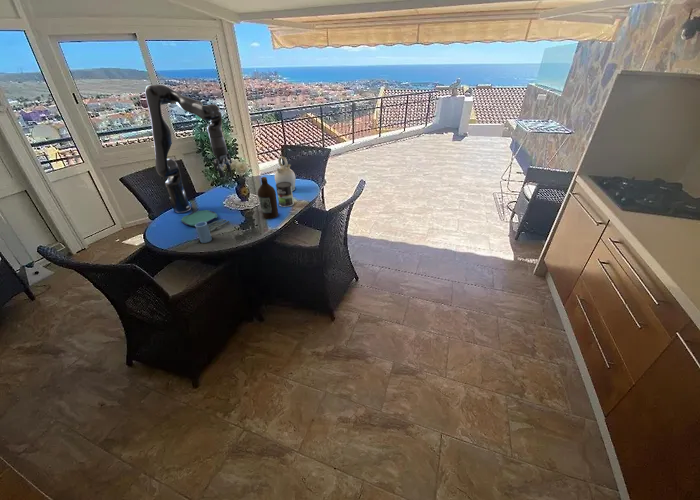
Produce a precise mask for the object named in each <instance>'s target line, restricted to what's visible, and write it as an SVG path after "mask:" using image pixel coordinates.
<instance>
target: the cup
mask: <svg viewBox="0 0 700 500" xmlns="http://www.w3.org/2000/svg"><path fill="white" fill-rule="evenodd" d="M208 225H209V224H208V223H207V222H199V223H196V224H195V226H194V228H195V230H196V233H197V235H198V239H199V241H200V243H202V244H207V243H210V242H211V241H213V237H212V234H211V231H209V230H210V229H209V228H208Z"/></svg>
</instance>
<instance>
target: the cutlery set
mask: <svg viewBox="0 0 700 500" xmlns="http://www.w3.org/2000/svg"><path fill="white" fill-rule="evenodd" d="M217 218H218V214H217V213H216V212H215V211H213V210H209V209H205V210H203V209H202V210H197V211H194V212H191V213H189V214H187V215H184V216H182V218H181V219H180V221H181V223H183V225H186V226H190V227H195V224H196V223H199V222H207V225H208V228H209V231H210V232H212V231H215V230H217V229H218V228H220V227H222V226H225V225H227V224H230V221H229V220H227V219H224V218H222V219H219V220H217V221H213V220H214V219H217ZM212 221H213V222H212ZM210 222H211V223H210ZM221 223H222V224H221Z"/></svg>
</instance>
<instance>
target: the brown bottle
mask: <svg viewBox="0 0 700 500" xmlns="http://www.w3.org/2000/svg"><path fill="white" fill-rule="evenodd" d="M260 179H261V185H260V186H259V188H258V189H257V198H258V201H259V205H260V208H261V213H262V217H263V218H264V219H266V220H273V219H276V218H277V217H278V216H279V209H278V199H277V191H276V189H275V188H274V187H273V186H272V185H270V184H269V182H268V177H266V176H262V177H261V178H260Z"/></svg>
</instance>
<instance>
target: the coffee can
mask: <svg viewBox="0 0 700 500" xmlns="http://www.w3.org/2000/svg"><path fill="white" fill-rule="evenodd" d="M275 188H276V196H277V202H278V206H279V207H281V208H288V207H289V208H290V207H292V206H293V205H294V204H295V200H294V194H293V191H292V184H291V183H290V182H280V183H277V184H276V183H275Z"/></svg>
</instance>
